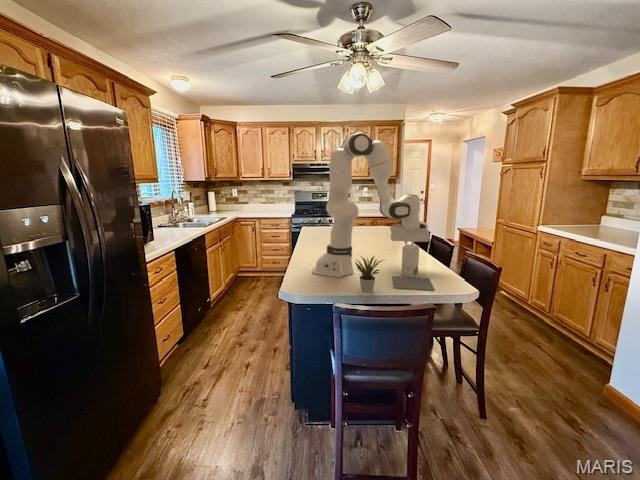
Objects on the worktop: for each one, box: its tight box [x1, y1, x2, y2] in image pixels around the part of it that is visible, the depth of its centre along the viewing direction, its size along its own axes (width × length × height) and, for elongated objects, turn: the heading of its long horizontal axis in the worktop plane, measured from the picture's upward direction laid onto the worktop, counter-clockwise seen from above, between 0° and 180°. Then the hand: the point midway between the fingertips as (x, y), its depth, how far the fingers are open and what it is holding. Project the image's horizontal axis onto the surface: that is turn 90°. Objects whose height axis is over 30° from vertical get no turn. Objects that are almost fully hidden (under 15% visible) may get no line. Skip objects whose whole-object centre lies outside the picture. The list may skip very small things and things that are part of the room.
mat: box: [391, 275, 436, 292], centre depth 144 cm, size 18×16×1 cm
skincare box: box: [400, 243, 420, 277], centre depth 155 cm, size 8×7×16 cm
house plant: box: [354, 255, 384, 294], centre depth 135 cm, size 14×14×16 cm
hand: (409, 249), depth 165 cm, fingers closed
